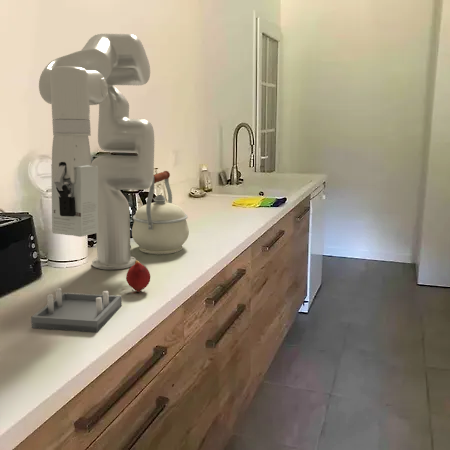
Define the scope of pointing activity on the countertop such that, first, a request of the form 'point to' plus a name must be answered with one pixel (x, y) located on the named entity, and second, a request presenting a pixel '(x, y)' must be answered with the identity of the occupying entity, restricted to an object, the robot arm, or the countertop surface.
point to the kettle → (160, 222)
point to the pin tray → (76, 311)
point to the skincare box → (78, 205)
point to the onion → (138, 276)
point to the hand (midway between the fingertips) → (75, 212)
